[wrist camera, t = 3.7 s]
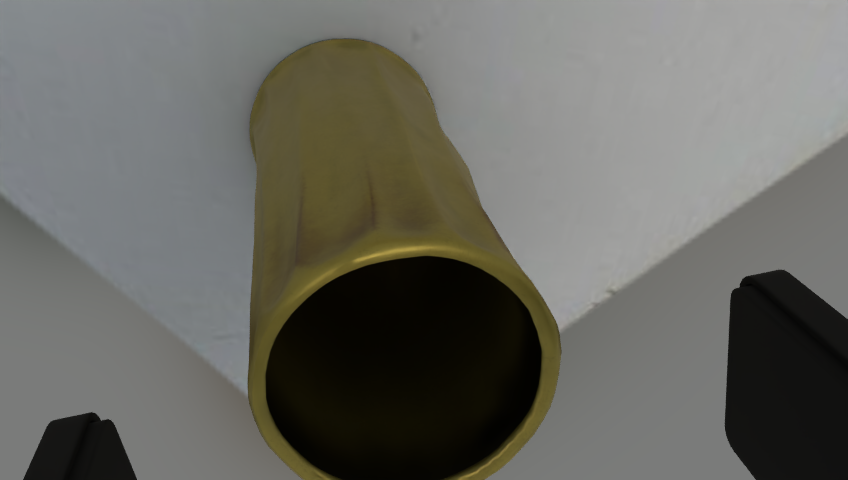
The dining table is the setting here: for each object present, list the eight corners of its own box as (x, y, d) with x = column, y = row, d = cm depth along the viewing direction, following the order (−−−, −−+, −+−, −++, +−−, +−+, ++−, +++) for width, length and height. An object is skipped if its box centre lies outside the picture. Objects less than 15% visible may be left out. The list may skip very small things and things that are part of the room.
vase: (363, 247, 27) (437, 571, 14) (212, 151, 25) (139, 437, 12) (471, 112, 26) (661, 337, 13) (322, -4, 23) (374, 132, 11)
